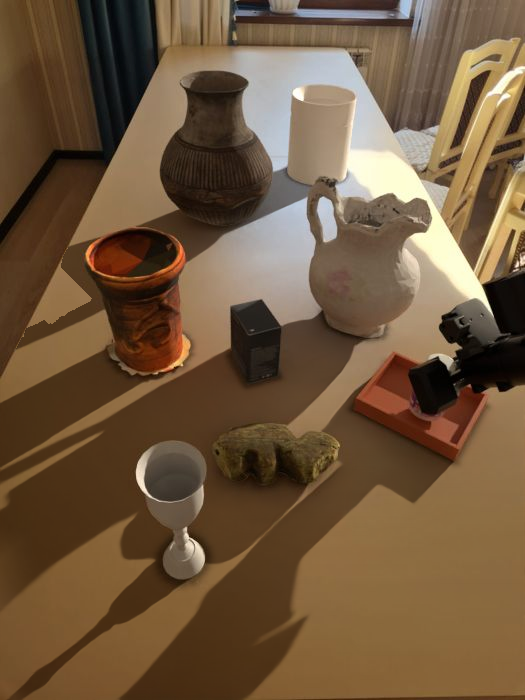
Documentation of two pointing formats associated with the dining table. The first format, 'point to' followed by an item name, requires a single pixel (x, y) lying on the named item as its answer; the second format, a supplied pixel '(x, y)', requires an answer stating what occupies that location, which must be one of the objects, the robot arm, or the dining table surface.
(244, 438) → the sculpture
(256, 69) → the dining table surface
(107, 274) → the vessel
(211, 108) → the vase
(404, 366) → the tray
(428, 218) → the ceramic pitcher
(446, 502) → the dining table surface
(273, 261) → the dining table surface
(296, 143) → the canister
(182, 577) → the chalice
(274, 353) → the box
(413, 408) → the pill bottle
